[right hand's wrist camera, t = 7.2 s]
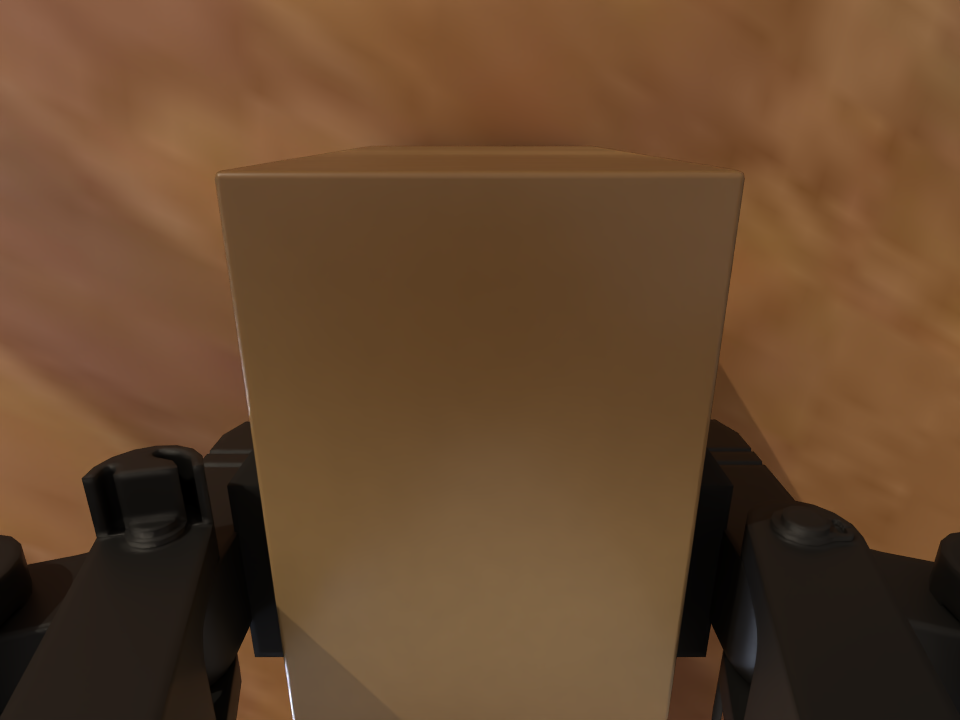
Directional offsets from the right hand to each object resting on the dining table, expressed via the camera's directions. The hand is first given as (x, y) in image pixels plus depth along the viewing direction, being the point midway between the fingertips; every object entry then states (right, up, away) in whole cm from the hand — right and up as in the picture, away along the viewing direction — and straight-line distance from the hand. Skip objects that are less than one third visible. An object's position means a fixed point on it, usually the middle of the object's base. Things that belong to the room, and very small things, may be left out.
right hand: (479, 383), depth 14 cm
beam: (0, -29, +11) cm, 31 cm away
